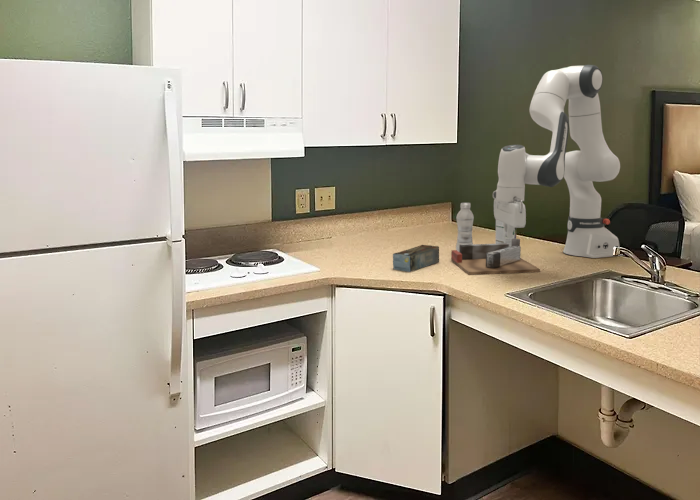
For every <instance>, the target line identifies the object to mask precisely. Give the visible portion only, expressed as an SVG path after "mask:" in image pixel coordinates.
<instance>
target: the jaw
mask: <svg viewBox="0 0 700 500" xmlns="http://www.w3.org/2000/svg"><path fill="white" fill-rule="evenodd" d="M521 249H522V247H521V245H520V246H511V247H508V248H504V249H501V250H497V251H492V252H488V253H486V267H487V268H493V269H494V268H497V267H500V266H502V265H505V264H509V263H512V262H515V261H518V260H520V258H521Z"/></svg>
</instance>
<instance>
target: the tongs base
mask: <svg viewBox="0 0 700 500" xmlns="http://www.w3.org/2000/svg"><path fill="white" fill-rule="evenodd" d="M511 246H521V239H520V238H516V239H512V243H511ZM508 247H509V244H507V243H498V244H495V243H479V244H478V243H475V244H474V243H473V244H471V245H470V244H465V245H460V247H459V252H458V251H457V250H456V249H451V251H450V252H451V256H450V257H451V259H450V261H451V262H452V263H454V265H456V266H457V267H458V269H459V268H460V269H461V270H462V271H463V272H464V273H465V274H467V276H471V275H472V276H474V275H475V276H476V275H497V274H519V273H520V274H521V273H526V274H527V273H540V272H541V268H539V267H537V266H535V265H534V264H532V263H531V262H529V261H527V260H525V259H523V258H522V257H520V260H518V261H515V262H512V263H509V264H505V265H502V266H500V267H497V268H494V269H493V268H487V267H486V253H488V252H492V251H497V250H501V249H504V248H508Z"/></svg>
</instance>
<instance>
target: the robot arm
mask: <svg viewBox="0 0 700 500" xmlns="http://www.w3.org/2000/svg"><path fill="white" fill-rule="evenodd" d="M603 80H604V77H603V72H602V71H601V69H600V68H599V67H598V66H597V65H595V64H585V65H571V66H567V67H562V68H559V69H551V70H548V71H546V72H545V73H543V74H542V76H541V78H540V80H539V82H538V84H537V86H536V89H535V90H534V92H533V95H532V98H531V101H530V104H529V110H528V111H529V115H530V117H531V119H532V120H533V122H534V123H536V125H538V126H540V127H541V128H543V129H546V130H548V131H550V132H552V136H551V143H550V148H549V152H548V153H547V154H545V155H541V154H540V155H539V154H537V155H533V154H529V153H527V152H526V148H525V146H524V145H522V144H507V145H505V146H503V147H502V148H501V149H500V152H499V155H498V156H499V157H498V163H497V164H498V165H497V176H498V182H497V184H496V190H494V191H493V192H492V198H493V215H494V216H493V218H494V219H495V220H496V219H497V220H499V221H501V222H503V227H504V231H505V232H504V235H505V236H506V237H508V238H512V237H513V231H514V228H518V229H519V228H525V227H526V223H527V221H526V220H527V218H526V217H527V213H526V211H527V210H526V205H525V204H524V203H523V202H525V193H526V192H525V190H526V185H534V186H535V185H537V186H543V187H549V188H553V187H555V186H557V185H559V184H560V183H561V181H562V180H565V183H566V184H567V189H568V192H569V216H568V219H567V235H566V241H565V244H564V248H563V251H562V252H563V253H564V254H566V255H570V256H576V257H585V258H591V259H598V258H608V257H614V256H613V247H614V246H618V247H619V248H620V241H619V238H618V236H616V235H615V234H614V233H612V232H611V231H610V230H609V229H607V227H605V225H610V224H611V221H610V219H609V218H603V217H601V211H602V197H601V194H600V193H599V192H598V191H597V190H596V188H595V187H594V183H593V182H598V183H599V182H601V183H602V182H610V181H613V180H614V179H616V178H617V176H618V175H619V173H620V169H621V162H620V159H619V157H618V156H617V155H615V154H614V153H613V152H612V150H611V149H610V148H609V146H608V144H607V142H606V140H605V136H604V133H603V124H602V123H603V122H602V111H601V102H600V96H599V92H600V90H601V89H602V85H603ZM567 100H568V114H567V113H566V112H565V105H566V103H567ZM569 135H570V138H571V140H573V142H575V143H576V145H577V146H578V148H579V149H580V150H572V151H567V146H568V139H569ZM619 256H620V257H621V256H624V255H623V254H620V255H618V256H617V257H619Z"/></svg>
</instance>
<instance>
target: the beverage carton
mask: <svg viewBox="0 0 700 500" xmlns="http://www.w3.org/2000/svg"><path fill="white" fill-rule="evenodd" d="M437 263H438V264H439V263H440V246H438V245H431V244H430V245H428V244H427V245H426V244H420V245H418V246H414V247H411V248H408V249H404V250H402V251H399V252H394V253H393V254H392V266H393V270H396V271H403V272H406V273H407V272H408V273H411V272H415V271H417V270H421V269H423V268H426V267H429V266H432V265H436V264H437Z"/></svg>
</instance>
